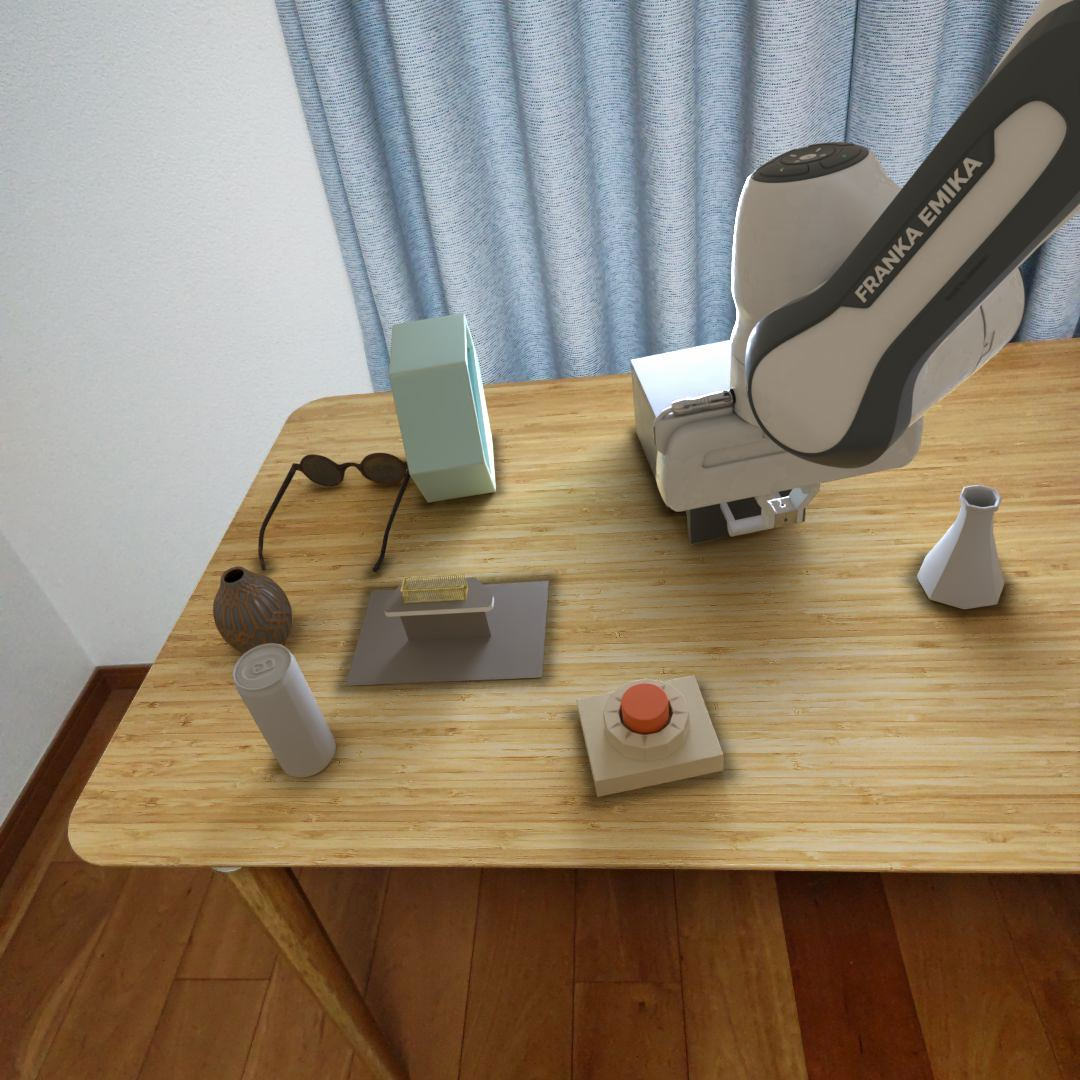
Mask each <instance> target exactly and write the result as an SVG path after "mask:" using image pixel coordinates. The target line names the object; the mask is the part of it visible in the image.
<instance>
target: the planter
mask: <svg viewBox="0 0 1080 1080" xmlns="http://www.w3.org/2000/svg"><path fill="white" fill-rule="evenodd" d="M389 352H390V354H389V366H388V379H389V383H390V388H391V393H392V398H393V403H394V406H395V407H394V408H395V412H396V416H397V422H398V426H399V431H400V435H401V436H400V437H401V440H402V446H403V450H404V455H405V459H406V461H407V464H408V469H409V474H410V476H411V477H410V479H412V481H413V482H414V484H415V485H416V487H417V488H418V490H419V492H420V493H421V495H422V496H423V498H424V499H425V501H426V502H427V503H435V502H436V503H437V502H441V501H448V500H454V499H455V500H456V499H460V498H467V497H472V496H480V495H484V494H491V493H496V492H497V486H496V485H497V484H496V473H495V472H496V471H495V457H494V446H493V445H494V444H493V436H492V429H491V424H490V419H489V414H488V409H487V408H488V407H487V402H486V396H485V391H484V386H483V379H482V374H481V369H480V364H479V363H480V362H479V357H478V353H477V349H476V347H475V343H474V340H473V336H472V333H471V330H470V326H469V323H468V319H467V316H466V314H465V312H461V313H455V314H454V313H453V314H449V315H443V316H437V317H431V318H425V319H418V320H412V321H407V322H401V323H394V324H392V328H391V342H390V351H389Z"/></svg>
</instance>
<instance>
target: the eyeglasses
mask: <svg viewBox="0 0 1080 1080" xmlns="http://www.w3.org/2000/svg"><path fill="white" fill-rule="evenodd" d="M351 467H354V468H355V469H357V470H358V471H359V472H360V474H361V475H362V477H364V479H366V480H368V481H370V482H372V483H376V484H379V485H393V484H397V483H399V482H401V481H402V483H401V484H400V488H399V490H398V493H397V496H396V498H395V501H394V504H393V507H392V509H391V512H390V515H389V518H388V521H387V524H386V527H385V529H384V533H383V538H382V543H381V549H380V552H379V556H378V558H377V560H376V562H375V564H374V565H373V567H372V569H371V571H372V573H374V574H375V573H378V571H379V569H380V567H381V566H382V564H383V562H384V559H385V557H386V553H387V549H388V542H389V537H390V532H391V528H392V526H393V523H394V520H395V518H396V516H397V512H398V510H399V507H400V505H401V502H402V500H403V497H404V495H405V492H406V489H407V487H408V485H409V482H410V480H411V476H410V474H409V469H408V464H407V460H406V461H403V460H402V459H401V458H399V457H398V456H397V455H394V454H391V453H387V452H374V453H369V454H367V455H366V456H364V458H362V460H361V461H360V462H359V463H358V462H350V461H349V462H344V463H337V462H336V461H334V460H332V459H330V458H329V457H327V456H324V455H320V454H314V453H313V454H311V453H310V454H306V455H305V456H303V457H302V458H301V459H300V461H299V463H296V462H293V463H292V464H291V467H290V469H289V471H288V472H287V474H286V476H285V478H284V480H283V482H282V484H281V486H280V488H279V490H278V491H277V494H276V495H275V497H274V499H273V501H272V503H271V505H270V507H269V509H268V511H267V514H266V516H265V517H264V519H263V522H262V524H261V526H260V530H259V535H258V544H257V555H258V559H259V564H260V567H261V571H266V569H267V568H266V563H265V559H264V555H263V553H264V542H265V541H264V539H265V533H266V529H267V527H268V525H269V522H270V520H271V519H272V517H273V514H274V513H275V511H276V509H277V507H278V506H279V504H280V501H281V500H282V498H283V496H284V495H285V493H286V491H287V489H288V487H289V486H290V483H291V482H292V481H293V478H294V476H295V474H296V472H301V473H302V474H303V475H304V476H305V477H306V478H307V479H308V480H310V481H311V482H313V483H314V484H317V485H319V486H323V487H336V486H339V485H340V484H342V483H343V481H344V479H345V475H346V474H345V473H346V470H347V469H348V468H351Z"/></svg>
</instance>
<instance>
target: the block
mask: <svg viewBox="0 0 1080 1080" xmlns="http://www.w3.org/2000/svg"><path fill="white" fill-rule="evenodd" d="M641 683H649V684H654V685H656V686H658V687H660V688H661V689H662V690H663V691H664V692H665V693H666V695H667V697H668V706H669V718H668V721H667V723H666V724H665V726H664V727H663V728H661V729H660V730H658V731H656V732H654V733H649V734H642V733H638V732H635V731H633V730H631V729H630V728H629V727H628V726H627V725H626V724H625V722H624V720H623V714H622V706H621V700H622V696H623V694H624V693H625V692H626V690H628V689H629V688H630V687H632V686H634V685H636V684H641ZM575 702H576V707H577V712H578V717H579V722H580V726H581V730H582V734H583V738H584V739H583V740H584V743H585V747H586V748H585V749H586V753H587V757H588V761H589V762H588V763H589V766H590V770H591V774H592V779H593V782H594V788H595V793H596V797H597V798H600V797H605V796H609V795H614V794H620V793H624V792H628V791H629V792H630V791H633V790H639V789H642V788H647V787H652V786H657V785H662V784H667V783H671V782H676V781H681V780H686V779H690V778H695V777H700V776H705V775H709V774H715V773H719V772H723V771H724V753H723V749H722V747H721V744H720V741H719V739H718V736H717V732H716V731H715V727H714V725H713V721H712V720H711V716H710V714H709V711H708V709H707V706H706V702H705V699H704V698H703V694H702V692H701V689H700V686H699V683H698V681H697V678H696V675H695V674H693V675H688V676H687V675H686V676H682V677H677V678H673V679H667V680H664V681H661V680H656V679H651V678H647V677H645V678H641V679H637V680H632V681H627V682H624V683H623V684H622V685H620V686H619V687H618V688H616V689H615V690H614V691H609V692H606V693H601V694H595V695H590V696H587V697H581V698H577V699H576V700H575Z"/></svg>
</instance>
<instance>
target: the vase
mask: <svg viewBox="0 0 1080 1080" xmlns="http://www.w3.org/2000/svg"><path fill="white" fill-rule="evenodd" d="M219 581H220V582H219V587H218V589H217V590H216V591H217V592H216V593H215V596H214V598H213V599H214V600H213V604H212V616H213V620H214V624H215V627H216V630H217V631H218V633H219V635H220V636H221V638H222V639H223V641H224V642H226V644H228V645H229V646H230V647H231V648H233V649H234V650H235V651H237V652H239V653H242V654H244V653H246V652H247V651H249V650H250V649H252V648H254V647H256V646H259V645H263V644H269V643H275V644H280V645H282V644H283V643H285V641H286V640H287V638H288V637H289V635H290V632H291V630H292V629H293V628H292V627H293V608H292V605H291V603H290V600H289V597H288V595H287V594H286V592H285V591H284V589H283V588H282V587H281V586H280V585H279V584H278V583H277V582H276V581H275V580H273V579H272V578H271V577H269V576H267V575H265V574H261V573H258V572H254V571H250V570H248V569H247V568H245V567H243V566H241V565H240V566H239V565H237V566H232V567H230V568H228V569H226V570H225V571H224V572H223V573H222V574H221V575H220V580H219Z"/></svg>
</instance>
